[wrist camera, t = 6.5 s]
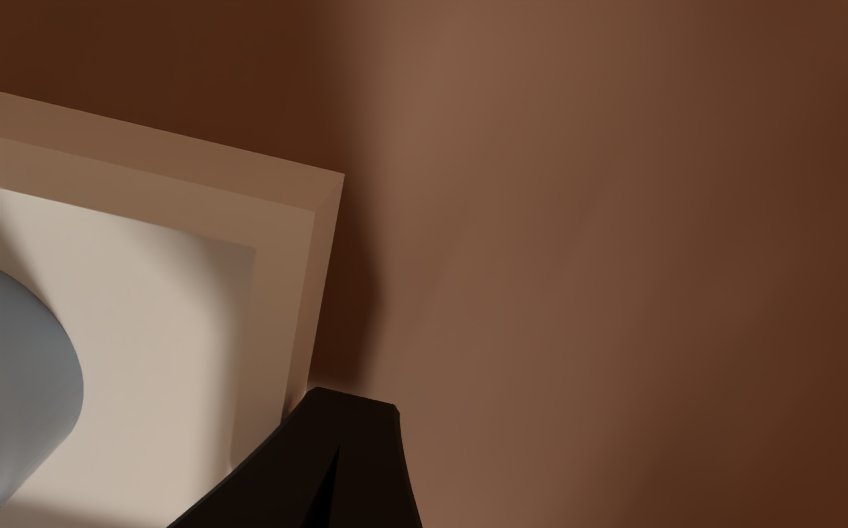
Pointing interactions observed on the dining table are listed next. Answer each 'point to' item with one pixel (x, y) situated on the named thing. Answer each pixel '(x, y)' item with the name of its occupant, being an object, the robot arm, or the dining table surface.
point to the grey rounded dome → (33, 384)
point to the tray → (160, 303)
